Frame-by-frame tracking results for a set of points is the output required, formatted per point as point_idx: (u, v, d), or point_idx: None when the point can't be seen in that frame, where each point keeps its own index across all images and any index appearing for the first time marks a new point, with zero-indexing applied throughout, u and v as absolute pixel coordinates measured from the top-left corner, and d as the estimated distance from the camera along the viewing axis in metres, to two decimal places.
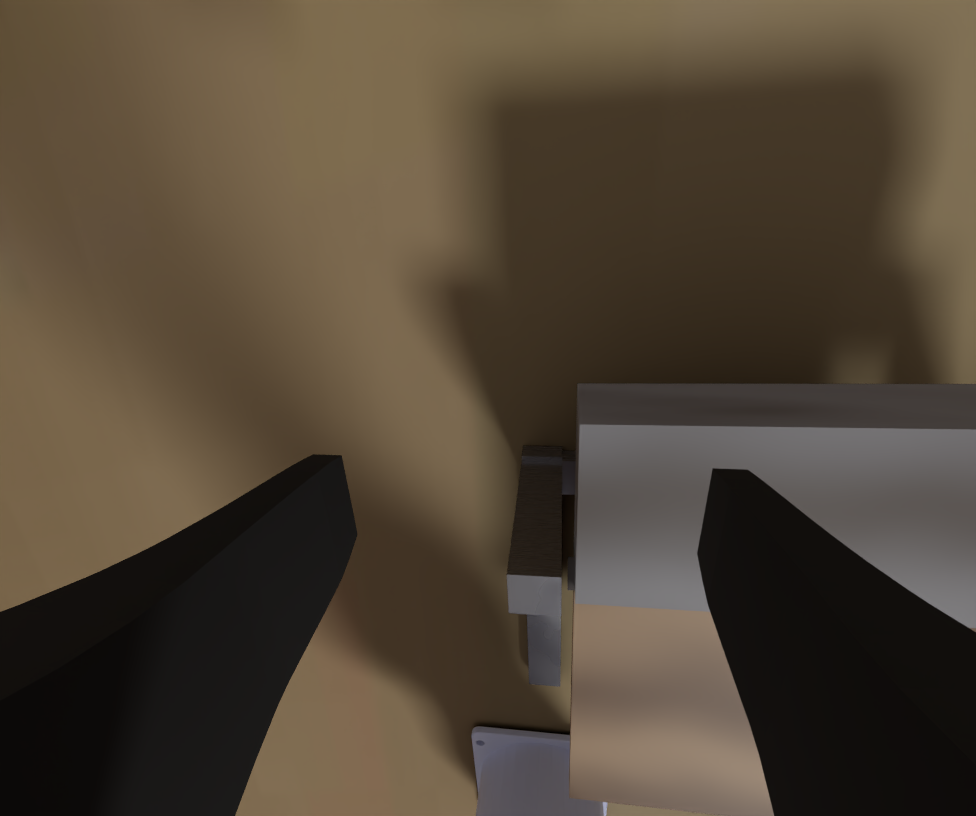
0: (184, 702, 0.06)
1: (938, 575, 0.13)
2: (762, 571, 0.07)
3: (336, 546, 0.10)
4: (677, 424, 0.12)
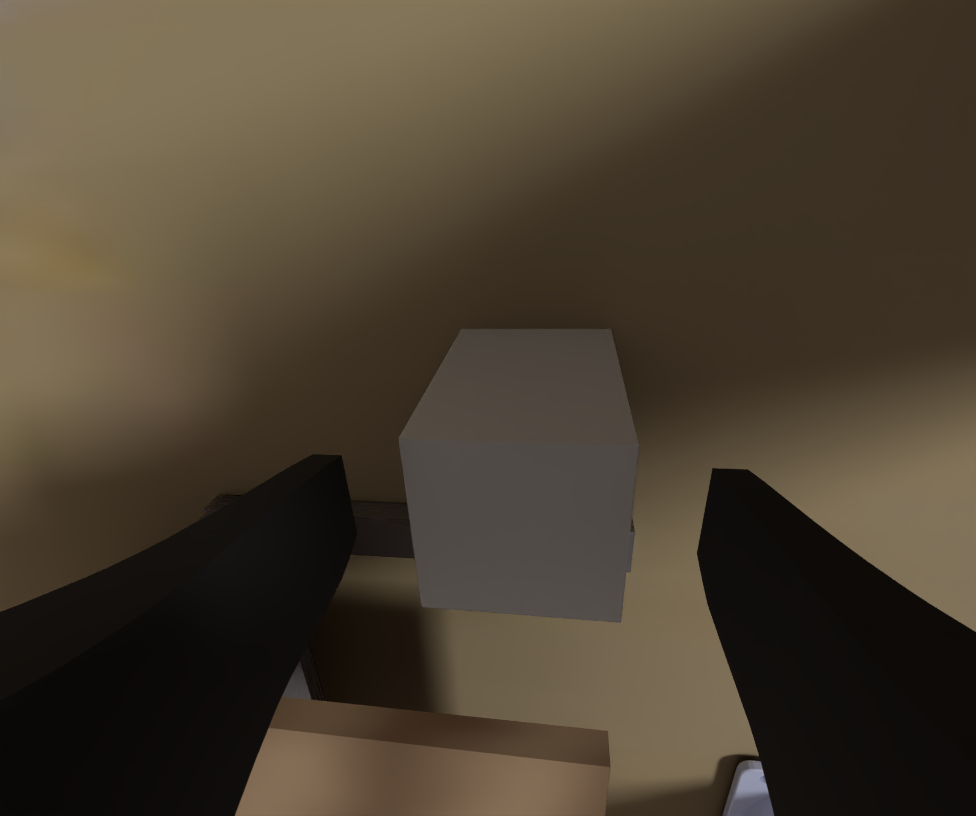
0: (184, 702, 0.06)
1: None
2: (762, 571, 0.07)
3: (336, 546, 0.10)
4: None
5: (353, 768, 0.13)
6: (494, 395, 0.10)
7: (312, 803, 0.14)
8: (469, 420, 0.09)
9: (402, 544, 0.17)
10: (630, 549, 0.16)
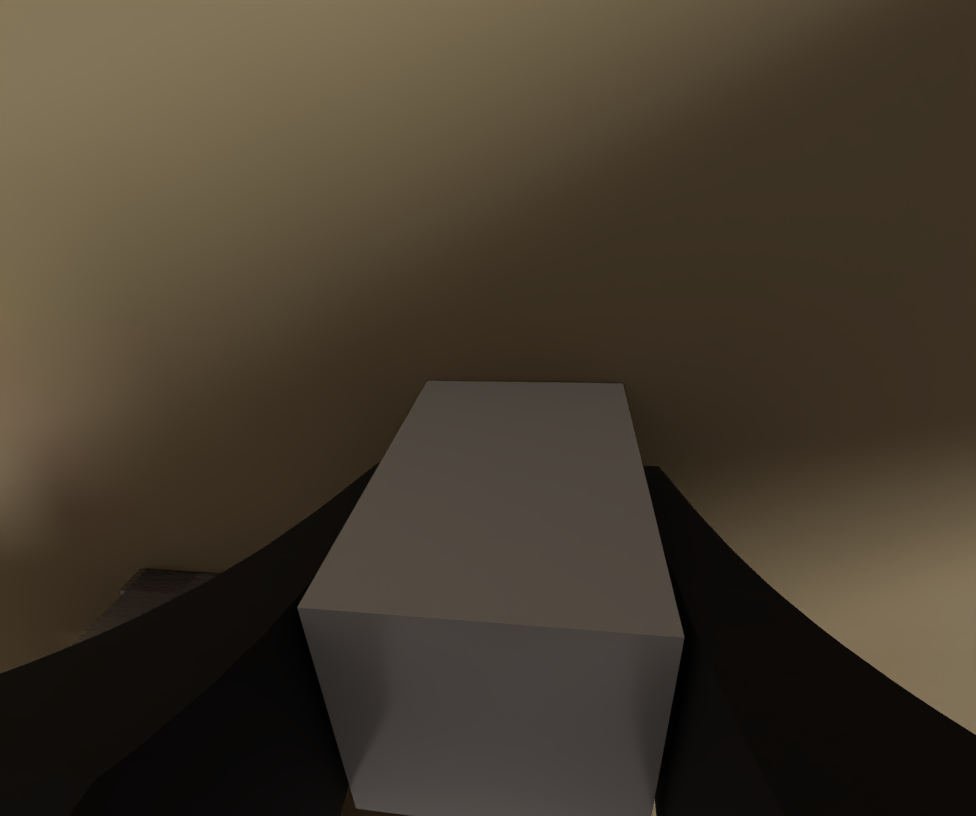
0: (302, 715, 0.06)
1: None
2: None
3: None
4: None
5: None
6: (458, 511, 0.07)
7: None
8: (414, 565, 0.06)
9: None
10: None
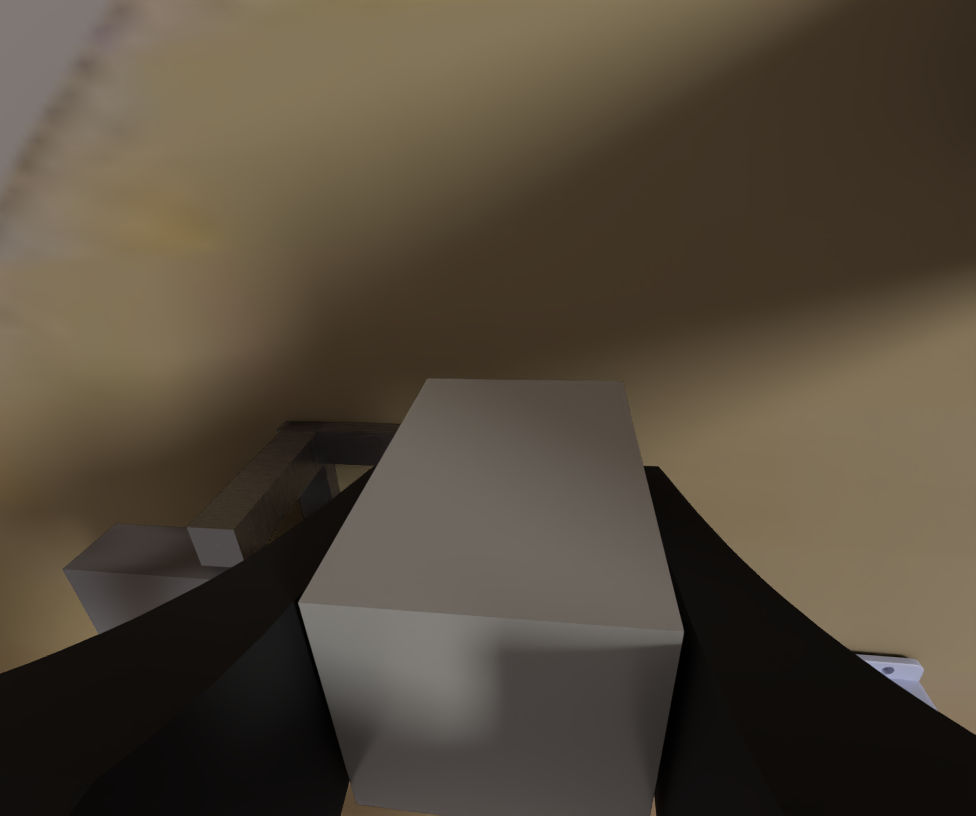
0: (302, 715, 0.06)
1: None
2: None
3: None
4: None
5: None
6: (458, 507, 0.07)
7: None
8: (414, 561, 0.06)
9: None
10: None
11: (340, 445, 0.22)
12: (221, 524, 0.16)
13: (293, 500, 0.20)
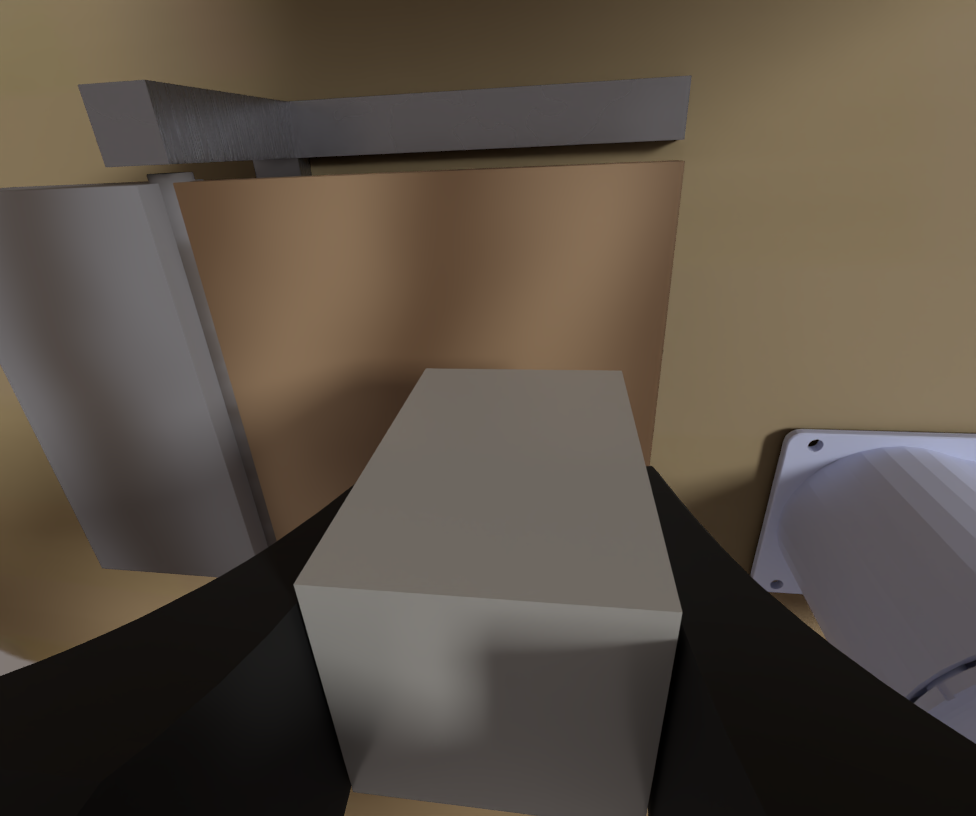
0: (306, 715, 0.06)
1: (115, 313, 0.13)
2: None
3: None
4: (77, 515, 0.17)
5: (402, 234, 0.12)
6: (455, 492, 0.07)
7: (355, 315, 0.13)
8: (412, 544, 0.06)
9: (442, 130, 0.16)
10: (685, 103, 0.15)
11: (317, 123, 0.16)
12: None
13: (249, 153, 0.14)
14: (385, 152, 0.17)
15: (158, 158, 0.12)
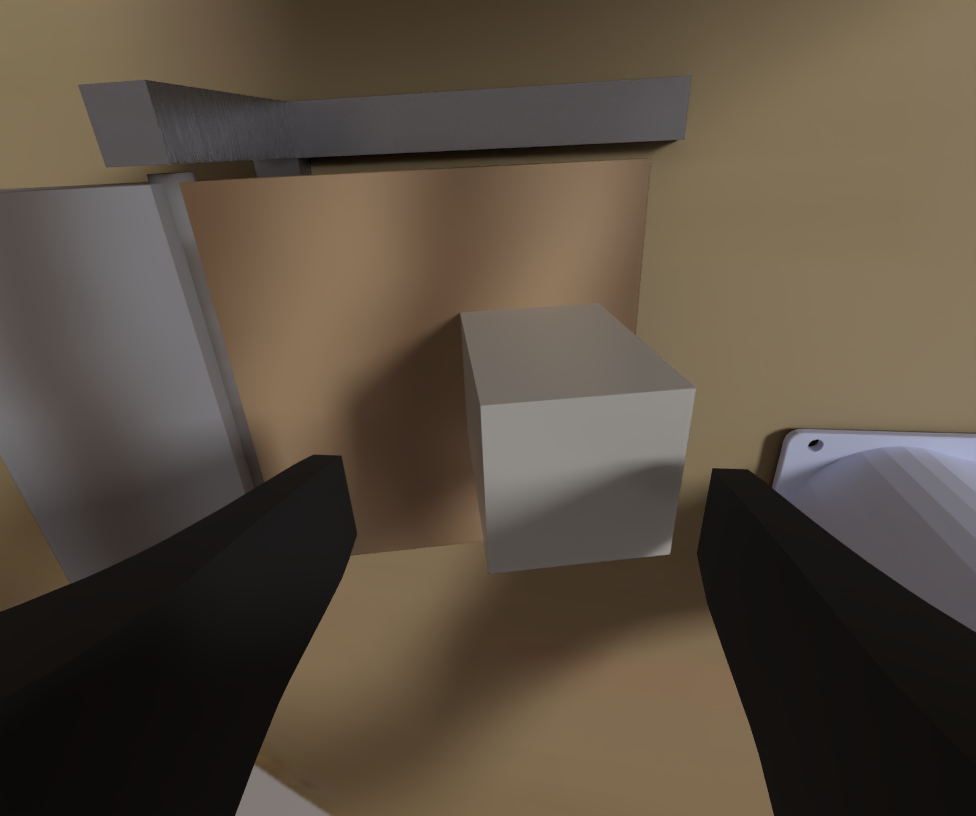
0: (184, 702, 0.06)
1: (115, 317, 0.13)
2: (762, 571, 0.07)
3: (336, 546, 0.10)
4: (50, 546, 0.16)
5: (415, 226, 0.13)
6: (540, 363, 0.11)
7: (368, 303, 0.14)
8: (534, 384, 0.10)
9: (442, 130, 0.16)
10: (685, 103, 0.15)
11: (318, 123, 0.16)
12: None
13: (250, 153, 0.14)
14: (385, 152, 0.17)
15: (159, 158, 0.12)
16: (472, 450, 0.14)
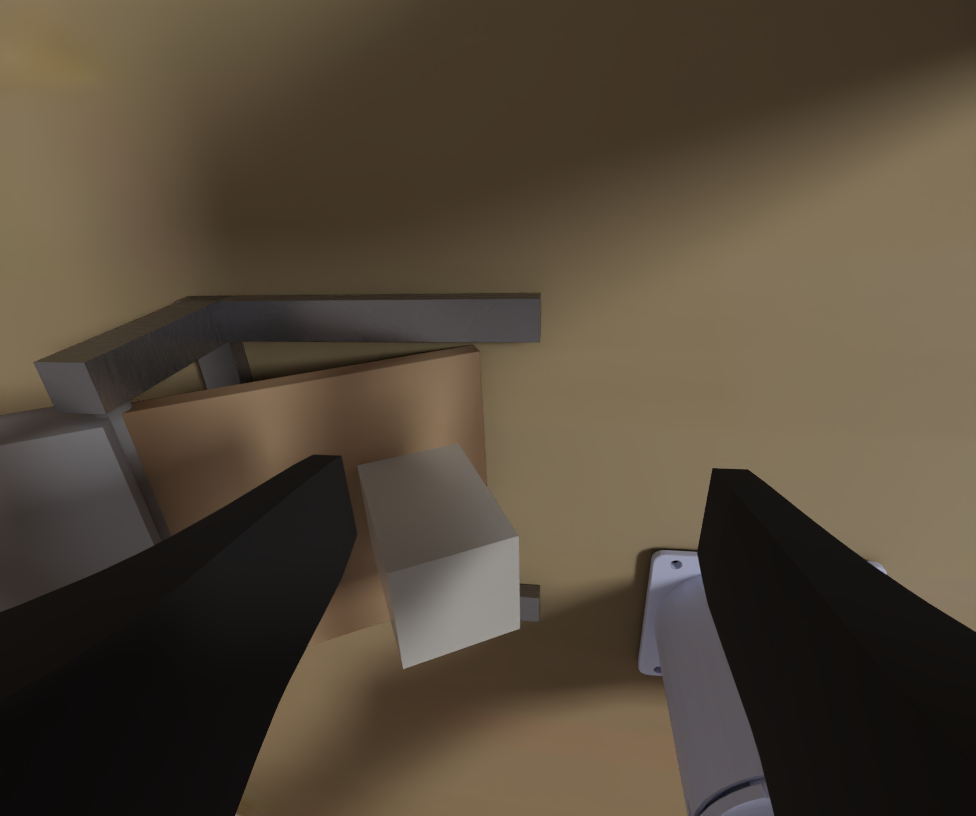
0: (184, 702, 0.06)
1: (72, 522, 0.16)
2: (762, 571, 0.07)
3: (336, 546, 0.10)
4: None
5: (315, 415, 0.18)
6: (421, 523, 0.16)
7: None
8: (419, 546, 0.15)
9: (346, 327, 0.19)
10: (537, 317, 0.18)
11: (244, 318, 0.20)
12: (73, 360, 0.14)
13: (181, 364, 0.18)
14: (300, 340, 0.20)
15: (97, 410, 0.15)
16: (379, 569, 0.19)
